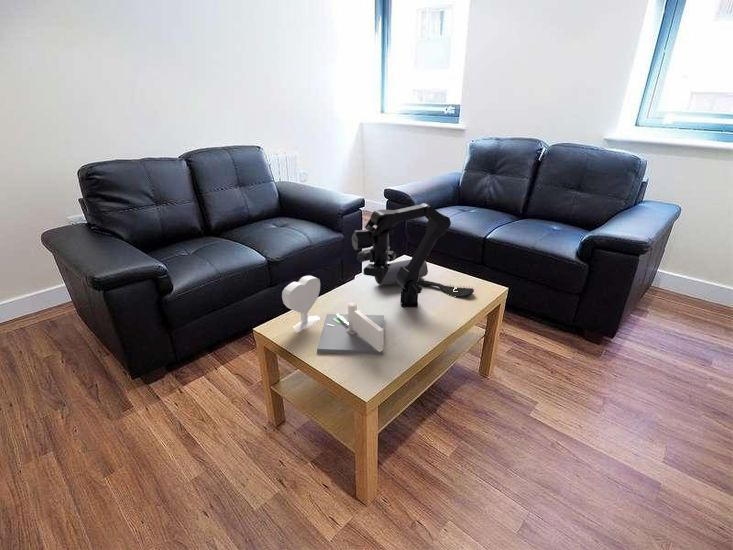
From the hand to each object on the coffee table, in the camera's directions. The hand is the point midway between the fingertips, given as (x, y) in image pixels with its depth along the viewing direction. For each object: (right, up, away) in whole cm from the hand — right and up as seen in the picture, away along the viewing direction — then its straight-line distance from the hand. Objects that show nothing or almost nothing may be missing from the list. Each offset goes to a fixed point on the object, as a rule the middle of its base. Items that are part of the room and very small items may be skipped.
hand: (380, 283), depth 148 cm
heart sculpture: (-28, -15, -3) cm, 32 cm away
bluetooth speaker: (+10, 0, +27) cm, 29 cm away
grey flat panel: (-10, -18, -10) cm, 23 cm away
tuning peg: (-8, -17, -13) cm, 23 cm away
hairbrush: (+29, -4, +21) cm, 36 cm away
